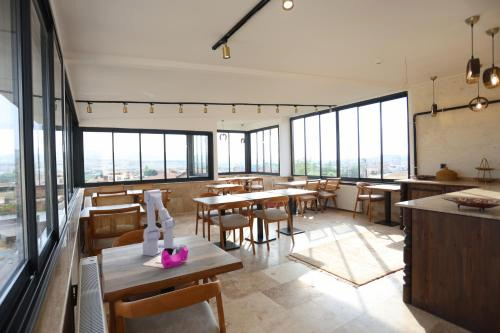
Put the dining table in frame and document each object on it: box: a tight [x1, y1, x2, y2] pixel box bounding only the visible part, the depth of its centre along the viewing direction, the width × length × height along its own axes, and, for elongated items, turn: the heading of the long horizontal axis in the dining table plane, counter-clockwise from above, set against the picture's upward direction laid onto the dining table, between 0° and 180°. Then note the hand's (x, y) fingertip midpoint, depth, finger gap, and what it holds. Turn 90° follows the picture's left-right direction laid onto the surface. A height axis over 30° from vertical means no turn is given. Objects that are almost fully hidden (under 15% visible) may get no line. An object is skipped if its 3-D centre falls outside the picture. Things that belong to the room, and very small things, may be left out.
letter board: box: [141, 255, 165, 269], centre depth 173 cm, size 17×16×1 cm
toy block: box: [161, 246, 189, 269], centre depth 168 cm, size 15×6×8 cm, turn 125°
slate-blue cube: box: [175, 243, 187, 255], centre depth 188 cm, size 5×5×5 cm
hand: (169, 259), depth 171 cm, fingers closed
